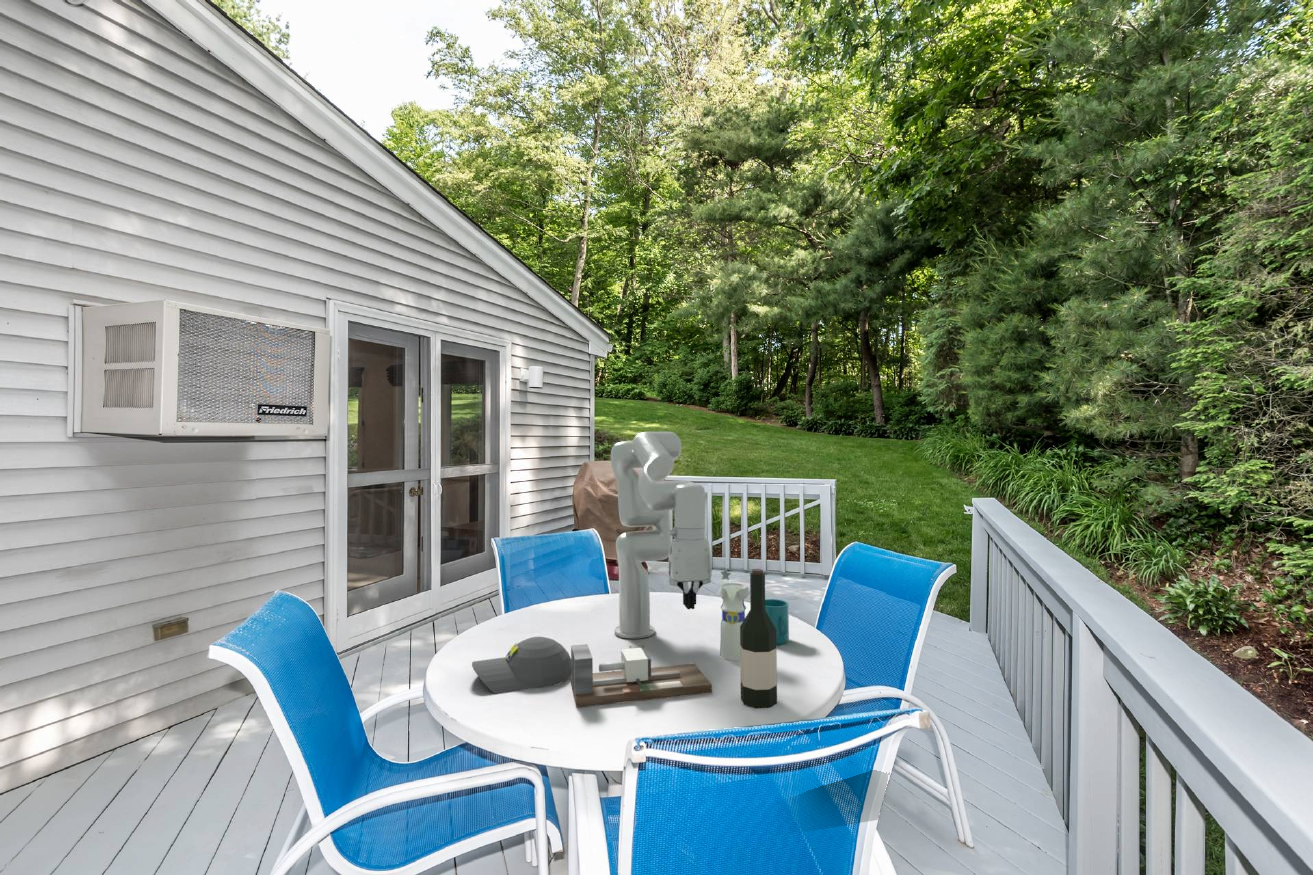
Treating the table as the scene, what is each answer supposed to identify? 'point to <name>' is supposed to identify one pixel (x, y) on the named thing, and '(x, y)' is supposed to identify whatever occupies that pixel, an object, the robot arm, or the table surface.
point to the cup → (779, 618)
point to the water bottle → (732, 617)
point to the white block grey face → (631, 665)
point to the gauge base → (618, 690)
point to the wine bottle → (758, 650)
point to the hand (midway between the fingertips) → (689, 607)
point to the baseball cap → (526, 666)
